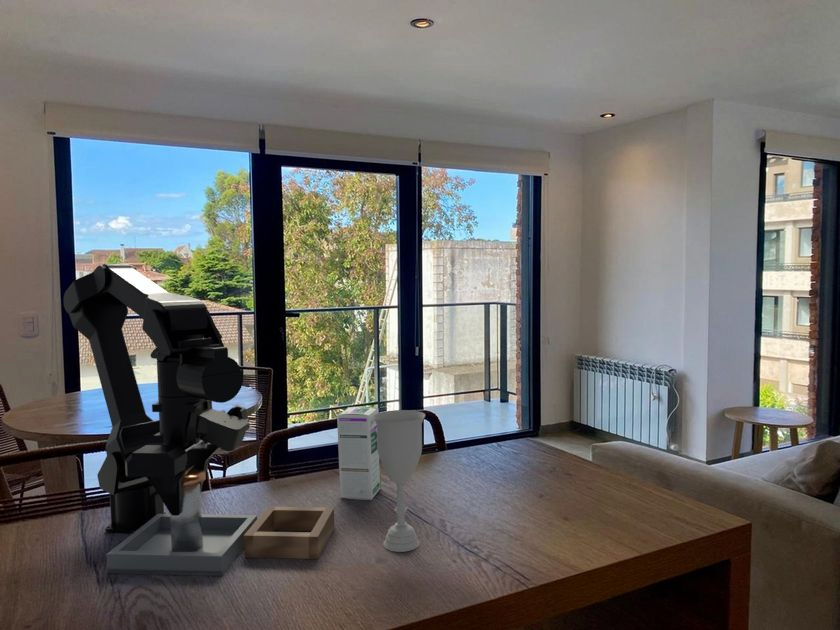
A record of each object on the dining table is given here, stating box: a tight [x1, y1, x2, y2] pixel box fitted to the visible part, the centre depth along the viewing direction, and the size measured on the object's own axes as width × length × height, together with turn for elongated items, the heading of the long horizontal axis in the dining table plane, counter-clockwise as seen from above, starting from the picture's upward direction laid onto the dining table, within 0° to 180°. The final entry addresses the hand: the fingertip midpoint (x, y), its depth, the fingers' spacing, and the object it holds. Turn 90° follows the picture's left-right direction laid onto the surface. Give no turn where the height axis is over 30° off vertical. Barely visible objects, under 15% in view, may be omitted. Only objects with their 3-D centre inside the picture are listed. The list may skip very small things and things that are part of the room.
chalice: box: [373, 409, 426, 553], centre depth 83 cm, size 7×7×18 cm
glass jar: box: [169, 468, 207, 552], centre depth 82 cm, size 6×6×10 cm
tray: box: [105, 513, 258, 577], centre depth 82 cm, size 15×13×2 cm
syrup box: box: [336, 406, 382, 501], centre depth 103 cm, size 6×6×14 cm
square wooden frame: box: [243, 506, 336, 560], centre depth 85 cm, size 10×10×3 cm
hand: (185, 506), depth 82 cm, fingers open, 5 cm apart
